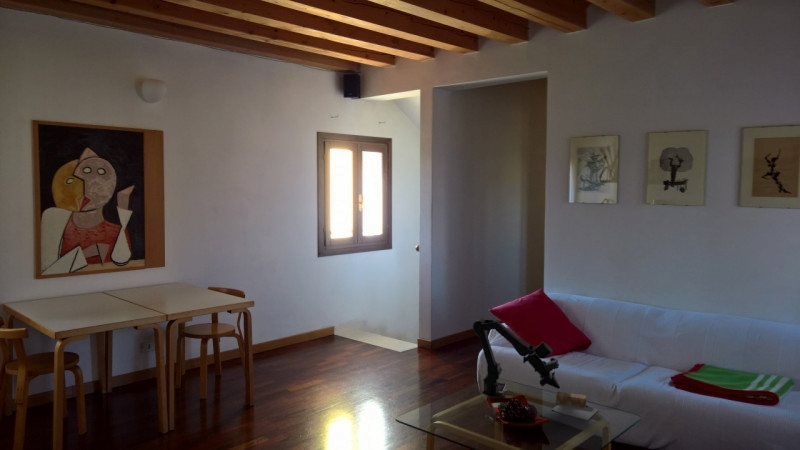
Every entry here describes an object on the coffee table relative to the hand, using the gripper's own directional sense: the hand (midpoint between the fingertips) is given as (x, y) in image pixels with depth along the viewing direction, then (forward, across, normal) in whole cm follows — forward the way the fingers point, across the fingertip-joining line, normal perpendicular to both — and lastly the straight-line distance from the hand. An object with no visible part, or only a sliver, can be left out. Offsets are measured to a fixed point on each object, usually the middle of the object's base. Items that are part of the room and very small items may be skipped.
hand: (559, 388), depth 296 cm
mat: (+11, -7, 0) cm, 13 cm away
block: (+3, 0, +4) cm, 5 cm away
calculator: (-9, -21, +21) cm, 31 cm away
